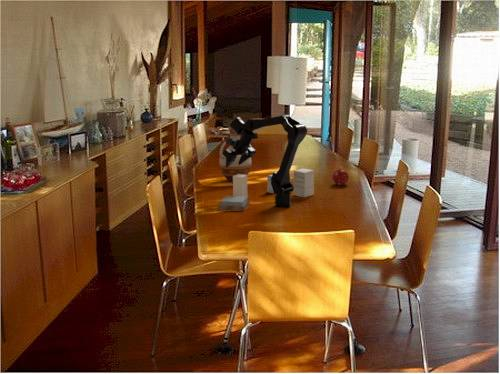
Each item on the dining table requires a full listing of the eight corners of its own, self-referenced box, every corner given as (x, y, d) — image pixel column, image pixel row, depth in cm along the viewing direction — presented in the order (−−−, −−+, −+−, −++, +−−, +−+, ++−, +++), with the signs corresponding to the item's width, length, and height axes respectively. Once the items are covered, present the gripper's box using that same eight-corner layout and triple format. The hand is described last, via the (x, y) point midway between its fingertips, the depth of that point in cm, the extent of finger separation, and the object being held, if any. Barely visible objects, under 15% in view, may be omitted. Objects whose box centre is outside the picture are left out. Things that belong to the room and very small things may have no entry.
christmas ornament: (330, 185, 284) (330, 167, 282) (335, 182, 292) (335, 164, 289) (345, 187, 281) (346, 168, 278) (350, 183, 288) (351, 165, 286)
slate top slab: (247, 200, 249) (247, 196, 249) (242, 206, 240) (242, 202, 239) (226, 199, 251) (226, 195, 251) (221, 205, 242) (220, 201, 241)
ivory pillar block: (247, 199, 259) (247, 175, 256) (242, 201, 255) (241, 177, 252) (238, 197, 262) (238, 174, 259) (233, 200, 257) (232, 175, 255)
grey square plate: (249, 205, 251) (249, 200, 250) (244, 212, 239) (244, 207, 239) (224, 204, 253) (224, 199, 252) (218, 211, 242) (218, 206, 241)
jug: (231, 186, 284) (229, 130, 277) (210, 181, 297) (209, 127, 290) (258, 181, 297) (258, 127, 290) (237, 176, 310) (236, 124, 303)
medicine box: (276, 189, 278) (276, 173, 276) (283, 190, 275) (283, 174, 273) (267, 192, 272) (267, 175, 270) (274, 193, 269) (274, 176, 267)
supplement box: (302, 192, 271) (302, 168, 268) (314, 194, 266) (314, 170, 263) (293, 195, 266) (293, 170, 263) (304, 197, 261) (304, 172, 258)
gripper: (247, 128, 265) (235, 153, 274) (221, 132, 252) (209, 158, 260) (261, 142, 261) (249, 166, 269) (236, 147, 247) (223, 173, 255)
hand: (232, 165), depth 264 cm, fingers open, 9 cm apart
